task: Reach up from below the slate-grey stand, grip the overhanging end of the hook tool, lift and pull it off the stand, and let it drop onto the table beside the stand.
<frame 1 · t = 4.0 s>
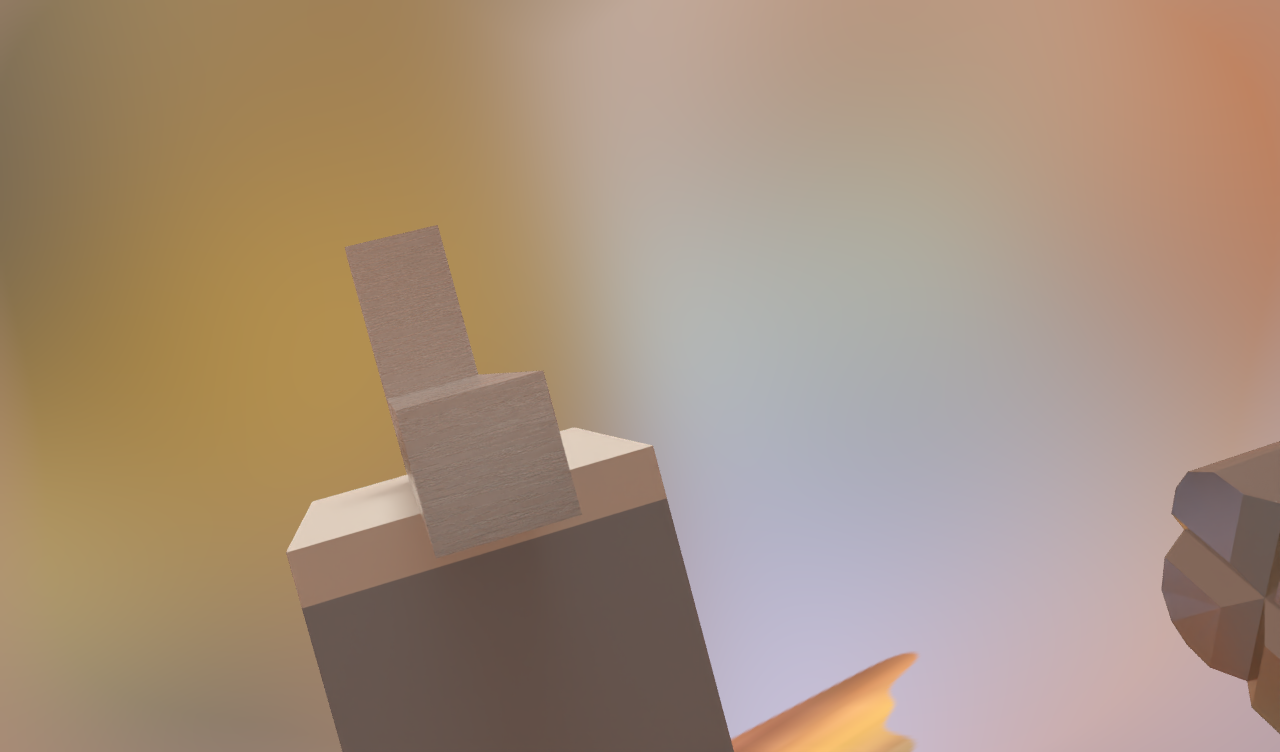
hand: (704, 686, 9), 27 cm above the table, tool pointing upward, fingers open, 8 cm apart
hook tool: (472, 493, 32), point 26 cm above the table, touching stand
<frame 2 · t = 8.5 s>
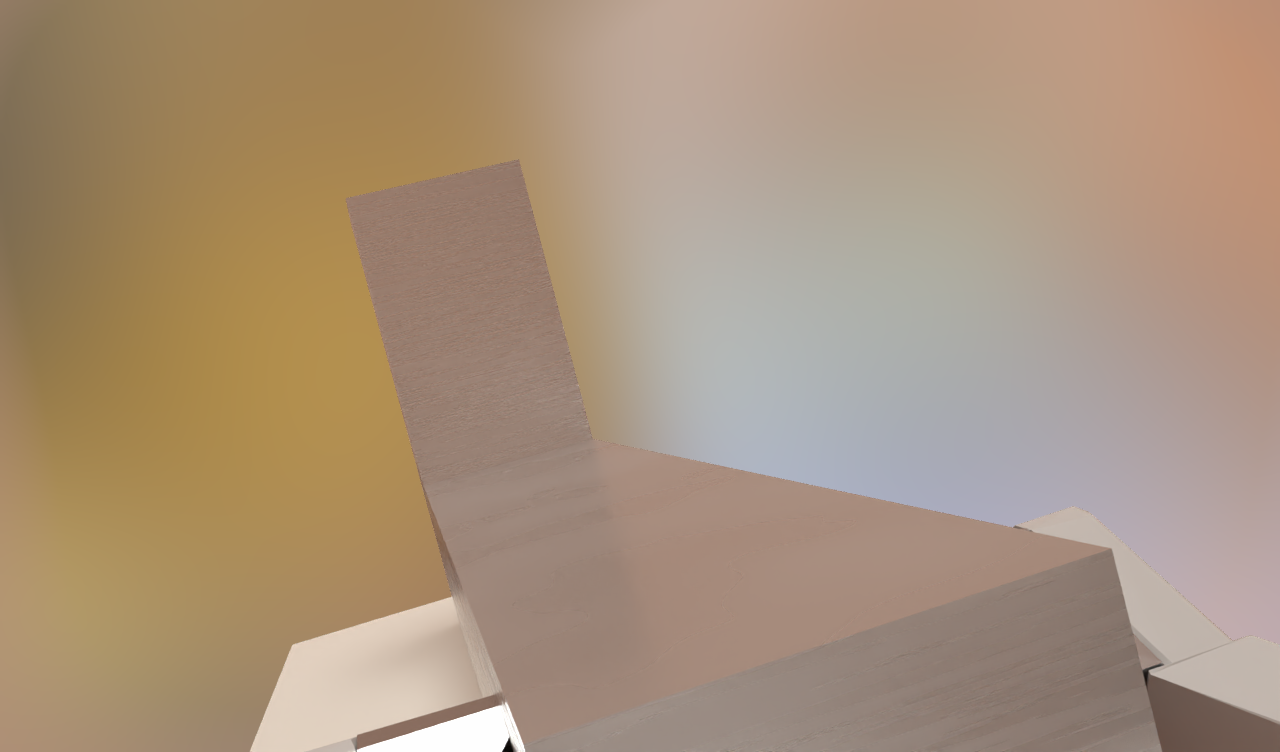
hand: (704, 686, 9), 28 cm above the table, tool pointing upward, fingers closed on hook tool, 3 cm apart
hook tool: (621, 725, 14), point 26 cm above the table, touching gripper, stand
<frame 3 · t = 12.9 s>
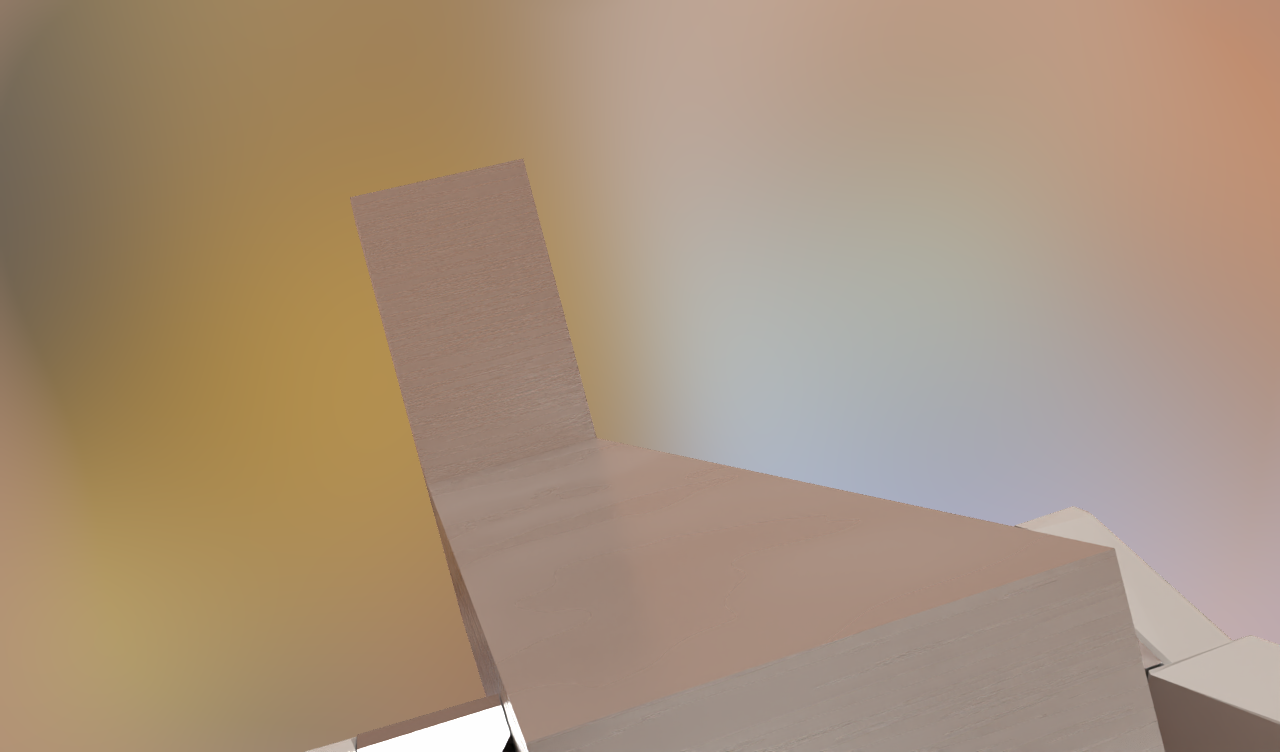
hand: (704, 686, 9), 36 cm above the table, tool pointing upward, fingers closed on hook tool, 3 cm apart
hook tool: (625, 724, 14), point 34 cm above the table, touching gripper
when the fingers open (19 cm above the table, at t = 17.6 s): hook tool drops 18 cm, on the table.
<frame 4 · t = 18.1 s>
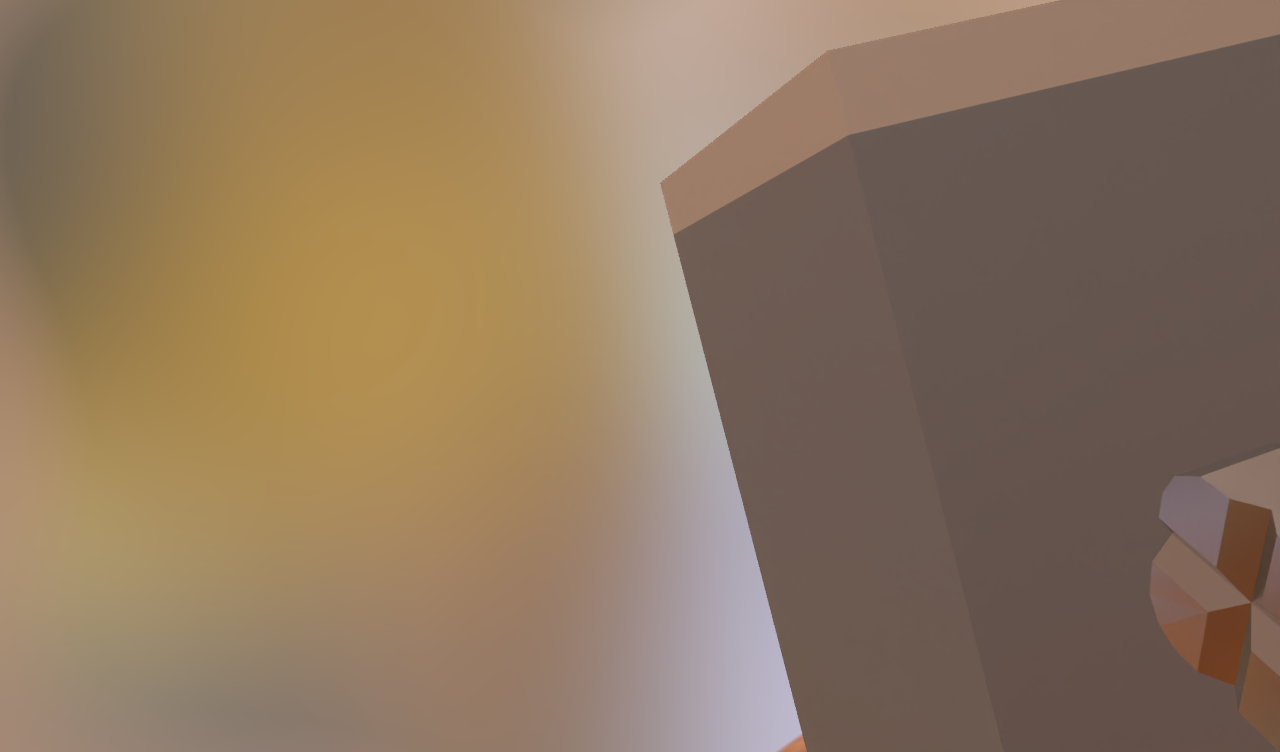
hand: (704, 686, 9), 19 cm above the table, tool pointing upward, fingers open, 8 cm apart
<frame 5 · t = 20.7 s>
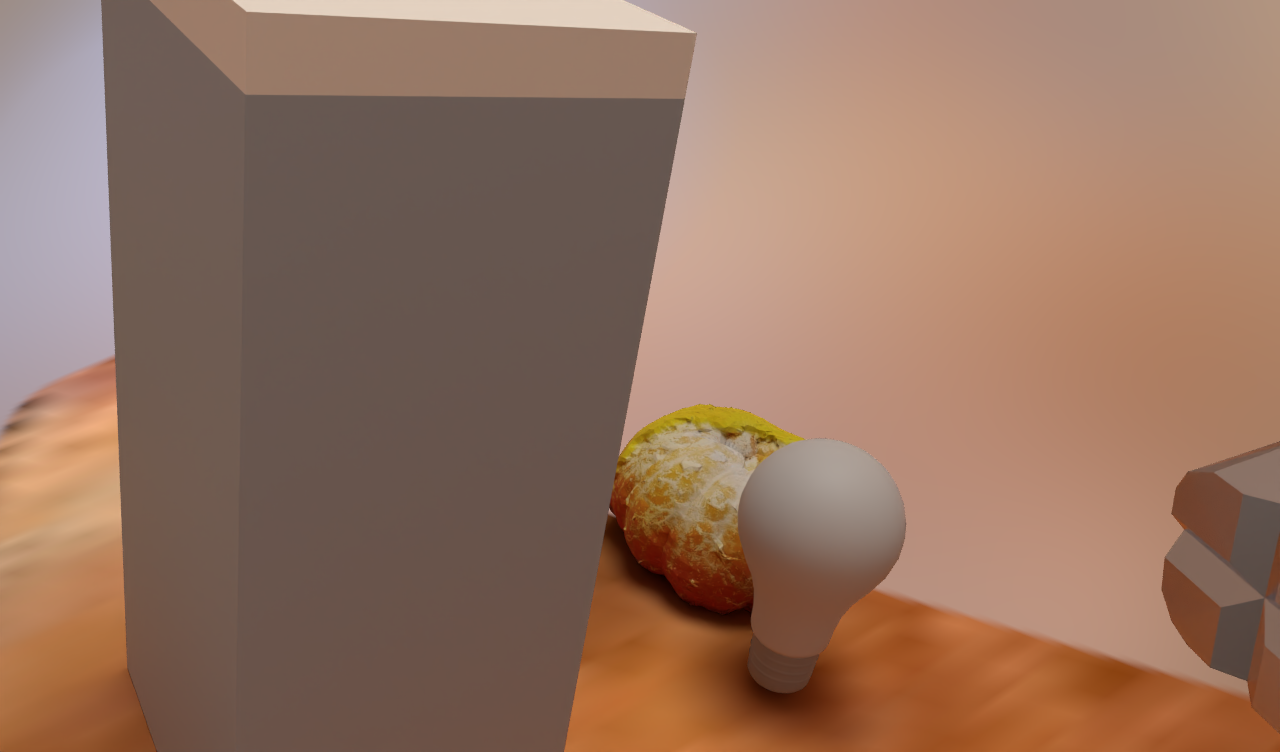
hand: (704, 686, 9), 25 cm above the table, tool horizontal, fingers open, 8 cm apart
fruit: (717, 561, 54), on the table
stand: (327, 751, 40), on the table
lightbulb: (772, 689, 47), on the table
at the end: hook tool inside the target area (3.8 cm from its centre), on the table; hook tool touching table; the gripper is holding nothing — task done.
